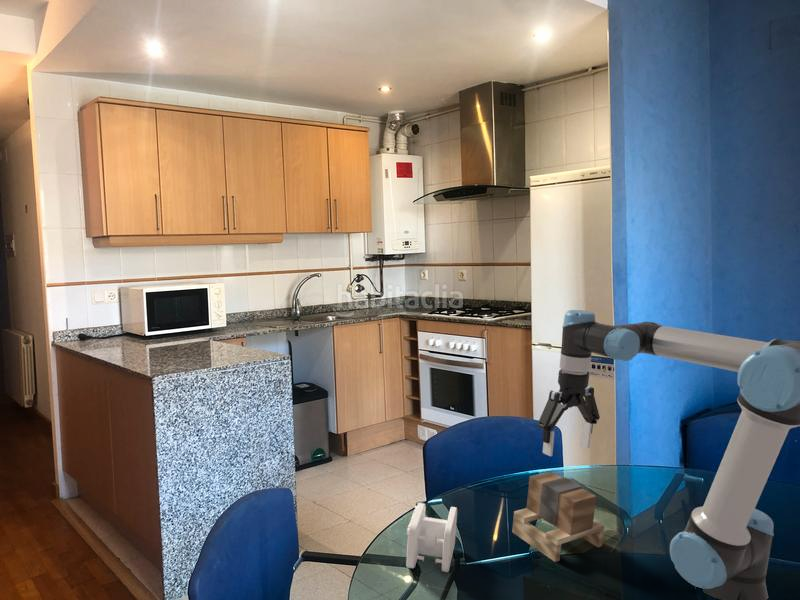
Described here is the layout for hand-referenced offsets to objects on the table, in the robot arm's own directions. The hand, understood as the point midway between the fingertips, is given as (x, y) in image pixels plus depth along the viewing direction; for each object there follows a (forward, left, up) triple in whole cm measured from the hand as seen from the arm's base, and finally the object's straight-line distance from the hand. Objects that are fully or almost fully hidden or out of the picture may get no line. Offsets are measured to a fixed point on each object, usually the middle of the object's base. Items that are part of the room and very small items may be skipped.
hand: (566, 450), depth 167 cm
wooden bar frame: (0, 0, -25) cm, 25 cm away
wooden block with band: (0, 0, -19) cm, 19 cm away
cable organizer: (+7, +36, -25) cm, 45 cm away
